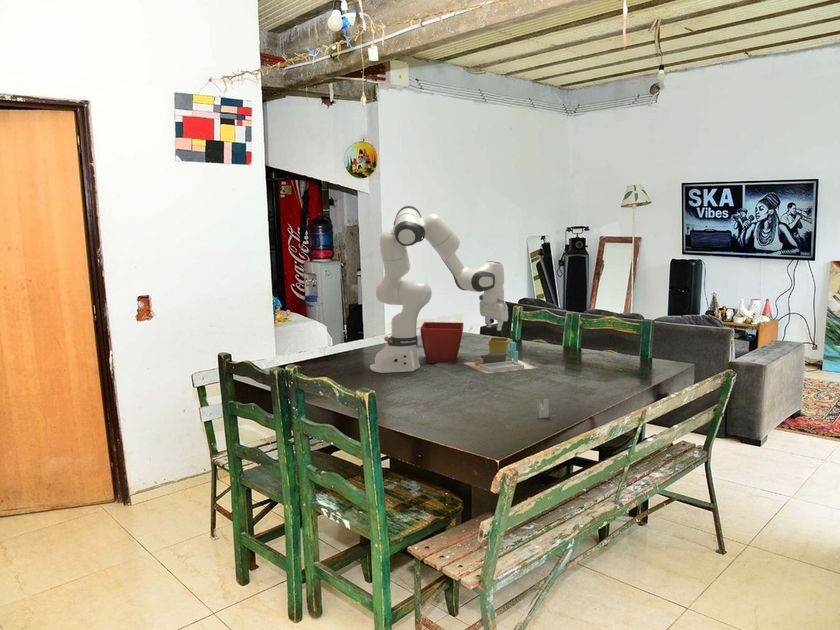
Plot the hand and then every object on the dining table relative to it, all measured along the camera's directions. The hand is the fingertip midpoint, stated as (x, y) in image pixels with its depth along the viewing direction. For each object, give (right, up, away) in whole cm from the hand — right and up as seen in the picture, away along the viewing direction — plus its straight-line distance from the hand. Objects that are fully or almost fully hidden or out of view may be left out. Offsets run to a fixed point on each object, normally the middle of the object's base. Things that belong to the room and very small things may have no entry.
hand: (493, 328), depth 299 cm
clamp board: (+3, -17, -1) cm, 18 cm away
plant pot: (-22, -16, +15) cm, 31 cm away
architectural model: (+4, -29, -69) cm, 75 cm away
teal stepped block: (+9, -15, +6) cm, 18 cm away
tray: (+3, -17, -7) cm, 19 cm away
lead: (0, -16, +2) cm, 16 cm away
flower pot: (+5, -14, +20) cm, 25 cm away
